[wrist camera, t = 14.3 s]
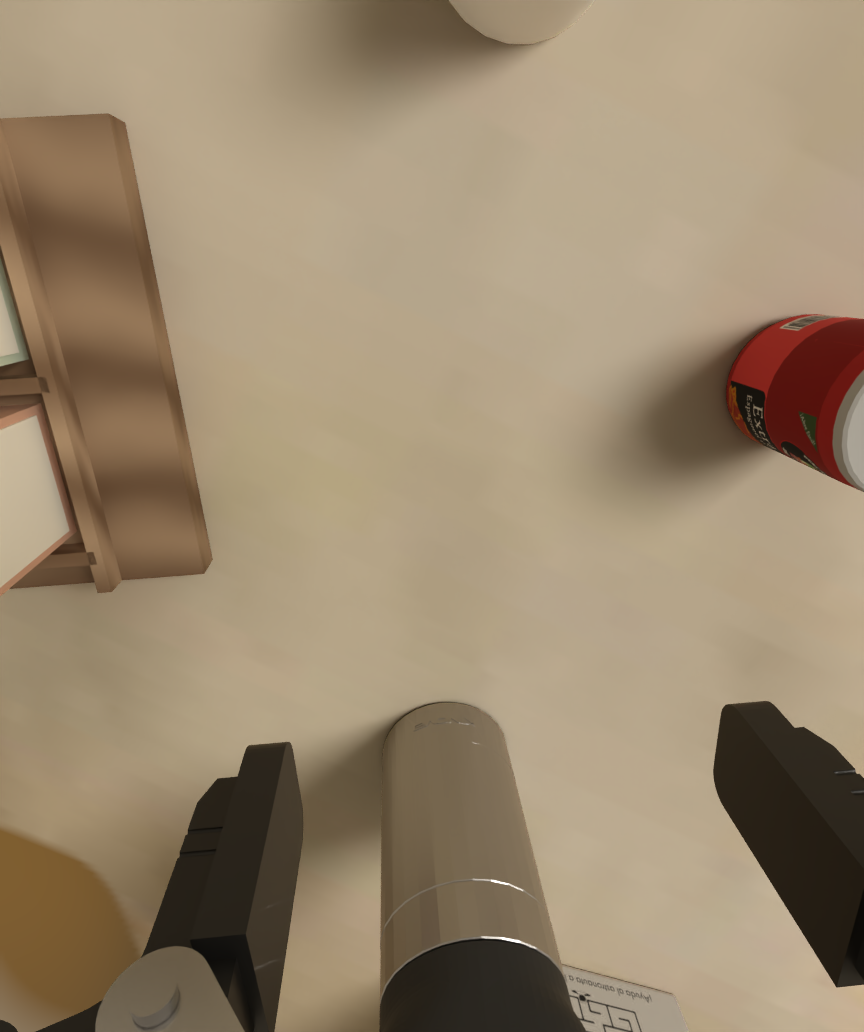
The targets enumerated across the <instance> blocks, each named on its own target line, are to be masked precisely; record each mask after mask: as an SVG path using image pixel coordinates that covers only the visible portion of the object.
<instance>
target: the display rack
mask: <svg viewBox="0 0 864 1032" xmlns="http://www.w3.org/2000/svg"><path fill="white" fill-rule="evenodd" d="M0 258H1V262H2V265H3V269H4V272H5V276H6V279H7V283H8V286H9V290H10V293H11V297H12V300H13V304H14V307H15V311H16V314H17V318H18V321H19V325H20V328H21V332H22V336H23V339H24V343H25V346H26V350H27V353H28V357H29V359H27V360H24V361H20V362H16V363H12V364H8V365H4V366H0V406H5V405H21V404H36V403H41V405H42V409H43V413H44V416H45V420H46V423H47V427H48V430H49V434H50V437H51V441H52V444H53V448H54V452H55V455H56V459H57V462H58V466H59V469H60V473H61V476H62V480H63V483H64V487H65V491H66V494H67V498H68V501H69V505H70V508H71V512H72V515H73V519H74V522H75V526H76V529H77V532H76V533H74V534H73V535H72V536H71V537H70V538H68V539H67V540H66V541H65V542H64V543H63V544H61V545H60V546H59V547H58V548H57V549H55V550H54V551H53V552H52V553H51V554H50V555H48V556H47V557H46V558H45V559H44V560H42V561H41V562H40V563H39V564H38V565H37V566H35V567H34V568H33V569H32V570H31V571H29V572H28V573H27V574H26V575H25V576H24V577H22V578H21V579H20V580H19V581H18V582H16V583H15V584H14V585H13V586H12V587H11V588H9V589H13V588H26V587H39V586H52V585H65V584H78V583H91V582H95V585H96V588H97V592H98V593H105V592H112V591H113V590H114V589H115V588H116V586H117V585H118V584H119V583H120V582H121V581H122V580H130V579H143V578H156V577H169V576H182V575H195V574H204V573H205V571H206V570H207V568H208V566H209V565H210V563H211V561H212V560H213V559H212V554H211V549H210V544H209V539H208V534H207V529H206V524H205V519H204V514H203V510H202V505H201V500H200V495H199V490H198V485H197V480H196V475H195V470H194V465H193V460H192V455H191V450H190V445H189V440H188V435H187V430H186V425H185V420H184V415H183V410H182V405H181V400H180V395H179V390H178V385H177V380H176V375H175V370H174V365H173V360H172V355H171V350H170V345H169V340H168V335H167V330H166V325H165V320H164V315H163V310H162V305H161V300H160V295H159V290H158V285H157V280H156V275H155V270H154V265H153V260H152V255H151V250H150V245H149V240H148V235H147V230H146V225H145V220H144V215H143V210H142V205H141V200H140V195H139V190H138V185H137V180H136V175H135V170H134V165H133V160H132V155H131V150H130V145H129V140H128V135H127V130H126V125H125V122H123V121H121V120H119V119H117V118H116V117H114V116H112V115H110V114H89V115H68V116H46V117H25V118H4V119H1V118H0Z"/></svg>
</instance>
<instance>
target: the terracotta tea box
mask: <svg viewBox="0 0 864 1032" xmlns="http://www.w3.org/2000/svg"><path fill="white" fill-rule="evenodd" d="M76 532H77V529H76V526H75V522H74V519H73V515H72V512H71V508H70V505H69V501H68V498H67V494H66V491H65V487H64V483H63V480H62V476H61V473H60V469H59V466H58V462H57V459H56V455H55V452H54V448H53V444H52V441H51V437H50V434H49V430H48V427H47V423H46V420H45V416H44V413H43V409H42V405H41V403H36V404H21V405H5V406H0V596H1V595H2V594H4V593H5V592H6V591H7V590H8V589H9V588H11V587H12V586H13V585H14V584H15V583H16V582H18V581H19V580H20V579H21V578H22V577H24V576H25V575H26V574H27V573H28V572H29V571H31V570H32V569H33V568H34V567H35V566H37V565H38V564H39V563H40V562H41V561H42V560H44V559H45V558H46V557H47V556H48V555H50V554H51V553H52V552H53V551H54V550H55V549H57V548H58V547H59V546H60V545H61V544H63V543H64V542H65V541H66V540H67V539H68V538H70V537H71V536H72V535H73V534H74V533H76Z"/></svg>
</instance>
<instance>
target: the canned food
mask: <svg viewBox="0 0 864 1032" xmlns="http://www.w3.org/2000/svg"><path fill="white" fill-rule="evenodd" d="M726 400H727V405H728V410H729V412H730V414H731V416H732V418H733V420H734V422H735V423H736V425H737V426H738V427H739V429H740V430H741V431H742V432H743V433H744V434H745V435H746V436H748V437H749V438H750V439H752V440H754V441H756V442H758V443H760V444H762V445H765V446H767V447H769V448H771V449H773V450H775V451H777V452H779V453H781V454H783V455H785V456H788V457H790V458H792V459H794V460H796V461H798V462H800V463H802V464H804V465H806V466H808V467H811V468H813V469H815V470H817V471H819V472H821V473H823V474H825V475H827V476H829V477H831V478H834V479H836V480H838V481H840V482H842V483H844V484H847V485H849V486H851V487H854V488H856V489H858V490H860V491H863V492H864V319H858V318H848V317H838V316H828V315H818V314H811V315H800V316H795V317H791V318H788V319H785V320H783V321H780V322H778V323H776V324H773V325H771V326H769V327H768V328H766V329H764V330H763V331H761V332H760V333H758V334H757V335H756V336H755V337H754V338H753V339H752V340H750V341H749V342H748V344H747V345H746V346H745V347H744V348H743V350H742V351H741V352H740V354H739V355H738V357H737V359H736V360H735V362H734V364H733V366H732V369H731V371H730V374H729V377H728V382H727V387H726Z"/></svg>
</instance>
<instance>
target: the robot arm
mask: <svg viewBox="0 0 864 1032" xmlns="http://www.w3.org/2000/svg"><path fill="white" fill-rule="evenodd" d="M713 774H714V782H715V787H716V790H717V794H718V796H719V799H720V801H721V803H722V805H723V806H724V808H725V810H726V811H727V813H728V814H729V816H730V818H731V819H732V821H733V822H734V824H735V826H736V827H737V829H738V830H739V832H740V834H741V835H742V837H743V838H744V840H745V842H746V843H747V845H748V846H749V848H750V850H751V851H752V853H753V854H754V856H755V858H756V859H757V861H758V862H759V864H760V866H761V867H762V869H763V870H764V872H765V874H766V875H767V877H768V878H769V880H770V882H771V883H772V885H773V886H774V888H775V890H776V891H777V893H778V894H779V896H780V898H781V899H782V901H783V902H784V904H785V906H786V907H787V909H788V910H789V912H790V914H791V915H792V917H793V918H794V920H795V922H796V923H797V925H798V926H799V928H800V930H801V931H802V933H803V934H804V936H805V938H806V939H807V941H808V942H809V944H810V946H811V947H812V949H813V950H814V952H815V954H816V955H817V957H818V958H819V960H820V962H821V963H822V965H823V966H824V968H825V970H826V971H827V973H828V974H829V976H830V978H831V979H832V981H833V982H834V984H835V986H836V987H845V986H855V985H864V778H863V777H862V776H861V775H860V774H856V772H855V768H854V767H853V766H852V765H851V764H850V763H849V762H848V761H847V760H846V759H845V758H844V757H843V756H842V755H841V753H840V752H839V751H838V750H837V749H836V748H835V747H834V746H833V745H831V744H830V743H828V742H826V741H825V740H823V739H822V738H820V737H819V736H817V735H815V734H814V733H812V732H811V731H809V730H808V729H806V728H804V727H799V728H794V727H793V726H792V725H791V723H790V722H789V721H788V720H787V719H786V718H785V717H784V716H783V714H782V713H781V712H780V711H779V710H778V709H777V708H776V707H775V706H774V705H773V704H772V703H770V702H768V701H761V702H749V703H738V704H728V705H725V706H724V708H723V709H722V712H721V718H720V725H719V732H718V739H717V746H716V754H715V761H714V769H713ZM302 840H303V809H302V801H301V796H300V790H299V784H298V778H297V772H296V766H295V760H294V754H293V749H292V745H291V743H290V742H282V743H270V744H259V745H249V746H248V747H247V748H246V751H245V754H244V757H243V760H242V764H241V767H240V771H239V774H238V777H230V778H219V779H217V780H216V781H215V782H214V783H213V785H212V786H211V787H210V788H209V789H208V791H207V792H206V793H205V794H204V795H203V797H202V798H201V799H200V800H199V801H198V803H197V805H196V808H195V811H194V814H193V816H192V819H191V822H190V825H189V828H188V835H186V836H185V839H184V842H183V845H182V847H181V850H180V857H179V858H178V859H177V861H176V864H175V867H174V870H173V873H172V876H171V878H170V881H169V884H168V887H167V890H166V892H165V895H164V898H163V901H162V904H161V906H160V909H159V912H158V915H157V918H156V921H155V923H154V926H153V929H152V932H151V935H150V937H149V940H148V943H147V946H146V948H145V950H144V953H143V955H142V957H141V958H140V959H138V960H137V961H136V962H135V963H133V964H132V965H130V966H129V967H128V968H127V969H126V970H125V971H124V972H123V973H122V974H121V975H120V976H119V977H118V978H117V979H116V980H115V982H114V983H113V984H112V985H111V987H110V988H109V990H108V991H107V993H106V995H105V997H104V999H103V1000H102V1001H100V1002H99V1003H97V1004H95V1005H94V1006H92V1007H91V1008H89V1009H87V1010H85V1011H83V1012H81V1013H78V1014H76V1015H74V1016H71V1017H69V1018H67V1019H64V1020H62V1021H60V1022H57V1023H55V1024H53V1025H50V1026H48V1027H46V1028H43V1029H41V1030H39V1031H36V1032H274V1030H275V1023H276V1017H277V1010H278V1003H279V996H280V990H281V983H282V976H283V969H284V963H285V956H286V949H287V942H288V935H289V929H290V922H291V915H292V908H293V902H294V895H295V888H296V881H297V875H298V868H299V861H300V854H301V848H302ZM380 950H381V969H380V1031H379V1032H586V1030H585V1028H584V1026H583V1024H582V1023H581V1021H580V1019H579V1018H578V1016H577V1015H576V1014H575V1012H574V1010H573V1007H572V1004H571V1000H570V996H569V992H568V988H567V985H566V981H565V976H564V972H563V968H562V964H561V960H560V956H559V952H558V948H557V944H556V941H555V937H554V933H553V929H552V925H551V921H550V918H549V914H548V910H547V906H546V902H545V898H544V894H543V890H542V886H541V882H540V878H539V874H538V870H537V866H536V862H535V858H534V854H533V850H532V846H531V842H530V838H529V834H528V830H527V826H526V822H525V818H524V814H523V810H522V806H521V802H520V798H519V794H518V790H517V786H516V782H515V777H514V773H513V769H512V765H511V761H510V757H509V754H508V750H507V746H506V742H505V738H504V735H503V732H502V731H501V729H500V727H499V725H498V724H497V723H496V722H495V721H494V720H493V719H492V718H491V717H490V716H489V715H487V714H486V713H484V712H483V711H481V710H479V709H477V708H474V707H472V706H469V705H465V704H459V703H437V704H432V705H427V706H424V707H422V708H419V709H416V710H414V711H413V712H411V713H409V714H407V715H406V716H404V717H403V718H402V719H401V720H400V721H399V722H397V723H396V724H395V725H394V727H393V728H392V729H391V731H390V732H389V734H388V736H387V738H386V740H385V743H384V747H383V753H382V816H381V937H380ZM0 1032H18V1031H17V1030H16V1028H15V1027H14V1026H12V1025H11V1024H10V1023H8V1022H5V1021H3V1020H0Z"/></svg>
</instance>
